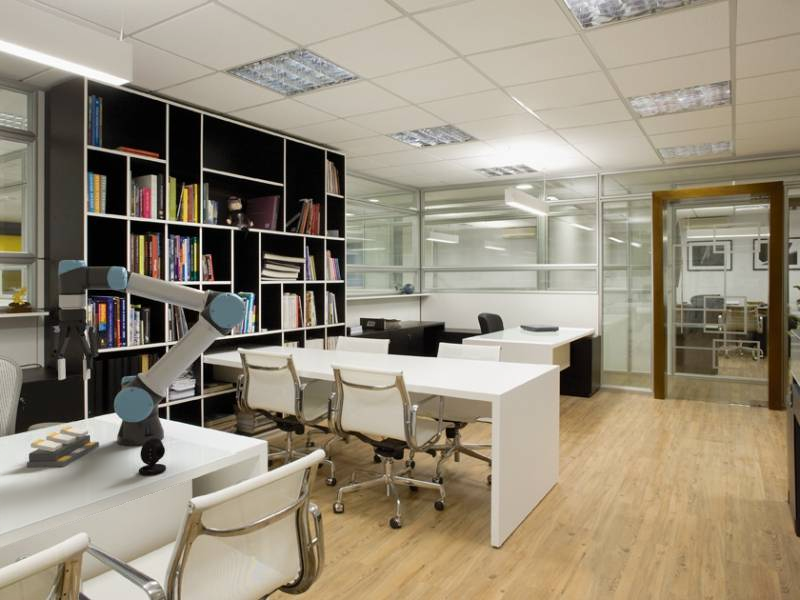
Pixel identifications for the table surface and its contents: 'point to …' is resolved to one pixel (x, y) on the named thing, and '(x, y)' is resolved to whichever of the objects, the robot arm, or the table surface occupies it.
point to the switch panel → (63, 463)
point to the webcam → (152, 457)
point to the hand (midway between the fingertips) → (74, 379)
